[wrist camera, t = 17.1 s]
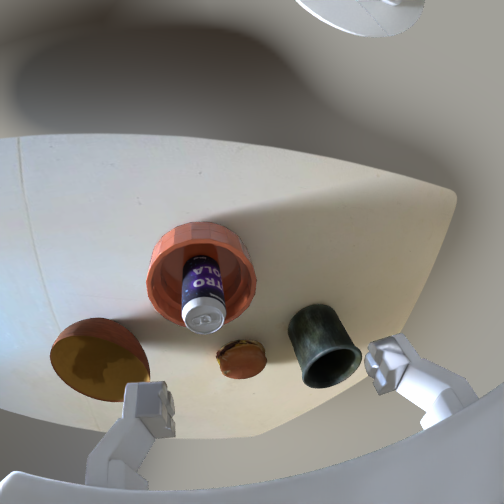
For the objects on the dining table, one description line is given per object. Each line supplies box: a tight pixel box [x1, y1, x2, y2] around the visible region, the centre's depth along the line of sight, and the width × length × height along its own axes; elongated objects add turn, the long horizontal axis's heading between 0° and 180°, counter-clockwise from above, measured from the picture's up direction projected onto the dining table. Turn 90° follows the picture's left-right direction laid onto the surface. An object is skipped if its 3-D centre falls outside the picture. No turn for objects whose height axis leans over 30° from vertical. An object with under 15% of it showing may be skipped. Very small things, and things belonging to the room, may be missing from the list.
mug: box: [288, 304, 362, 388], centre depth 53 cm, size 11×15×12 cm
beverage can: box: [181, 255, 227, 334], centre depth 41 cm, size 6×6×12 cm
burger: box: [216, 340, 267, 379], centre depth 56 cm, size 10×9×5 cm
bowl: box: [50, 318, 150, 402], centre depth 46 cm, size 18×18×10 cm
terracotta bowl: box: [146, 222, 257, 327], centre depth 44 cm, size 15×15×6 cm
